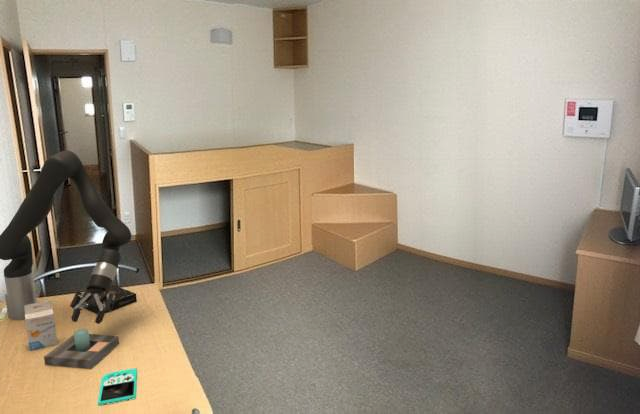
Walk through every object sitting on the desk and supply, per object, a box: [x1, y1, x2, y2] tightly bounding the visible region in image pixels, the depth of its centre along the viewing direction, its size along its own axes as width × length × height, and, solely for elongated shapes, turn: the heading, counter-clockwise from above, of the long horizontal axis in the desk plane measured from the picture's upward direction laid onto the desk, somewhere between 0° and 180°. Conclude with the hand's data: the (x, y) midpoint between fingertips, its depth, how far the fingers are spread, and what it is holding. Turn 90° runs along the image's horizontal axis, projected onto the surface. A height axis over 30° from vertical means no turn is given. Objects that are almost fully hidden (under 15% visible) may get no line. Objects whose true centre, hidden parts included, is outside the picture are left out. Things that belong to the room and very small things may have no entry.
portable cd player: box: [81, 284, 137, 315], centre depth 199 cm, size 16×17×4 cm
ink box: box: [24, 300, 58, 351], centre depth 164 cm, size 8×5×15 cm, turn 123°
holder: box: [43, 333, 120, 370], centre depth 159 cm, size 16×16×3 cm
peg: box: [73, 328, 91, 352], centre depth 159 cm, size 4×4×8 cm
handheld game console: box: [97, 368, 138, 406], centre depth 141 cm, size 10×16×1 cm, turn 19°
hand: (85, 322), depth 160 cm, fingers open, 8 cm apart
